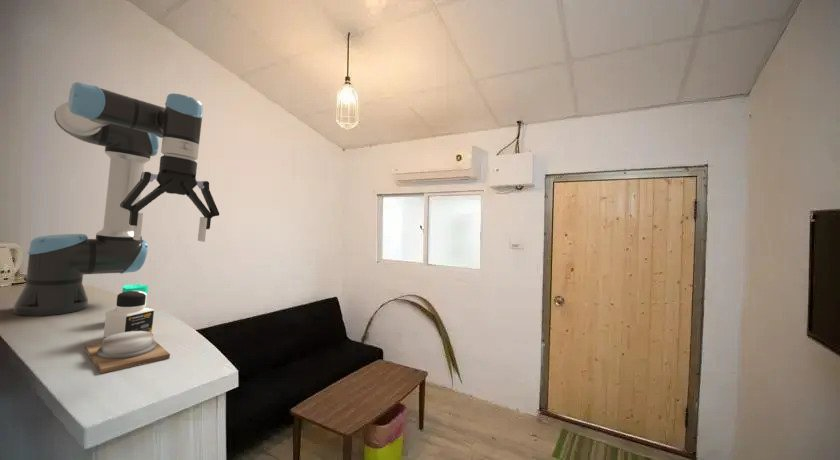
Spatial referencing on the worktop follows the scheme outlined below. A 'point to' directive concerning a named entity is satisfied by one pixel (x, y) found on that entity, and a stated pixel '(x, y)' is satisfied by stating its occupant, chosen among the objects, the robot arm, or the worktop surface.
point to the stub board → (124, 362)
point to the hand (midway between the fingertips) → (171, 240)
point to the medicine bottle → (129, 314)
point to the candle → (136, 288)
